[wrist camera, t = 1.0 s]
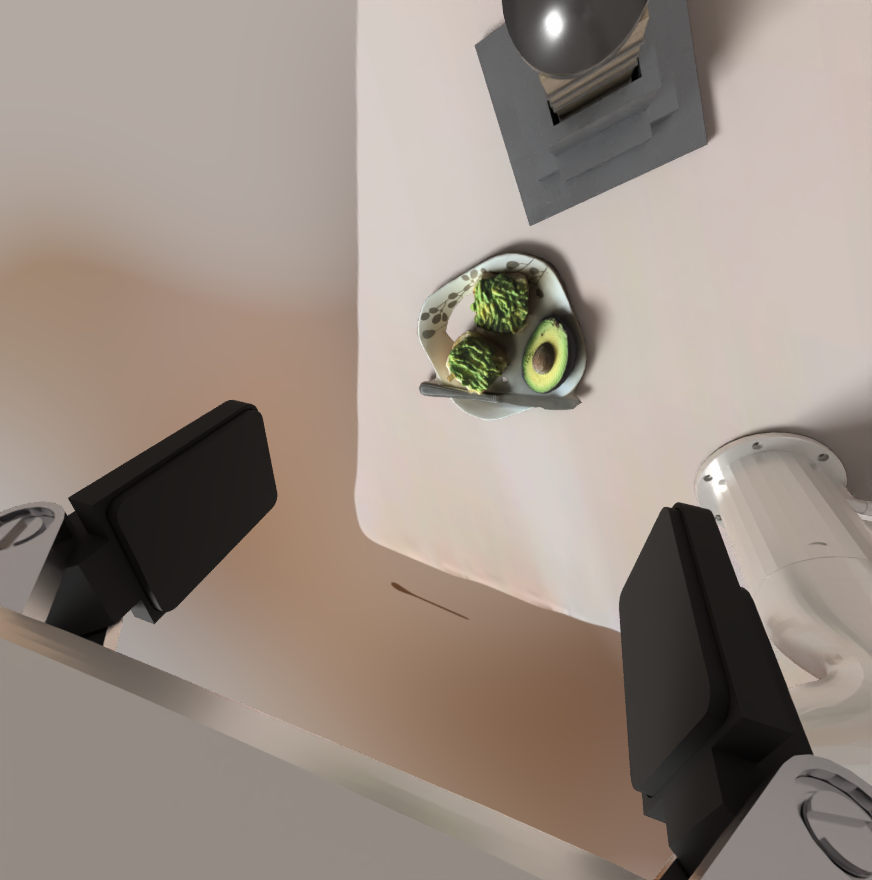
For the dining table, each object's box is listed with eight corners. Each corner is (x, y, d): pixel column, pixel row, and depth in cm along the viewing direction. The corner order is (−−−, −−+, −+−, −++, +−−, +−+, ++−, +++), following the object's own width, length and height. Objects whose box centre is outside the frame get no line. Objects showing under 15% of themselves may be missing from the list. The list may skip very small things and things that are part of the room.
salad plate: (453, 439, 54) (442, 458, 50) (386, 313, 48) (368, 323, 45) (606, 392, 45) (606, 410, 41) (544, 227, 39) (539, 231, 35)
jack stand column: (616, 30, 30) (642, -202, 12) (632, 111, 32) (675, 14, 14) (545, 74, 32) (480, -65, 15) (564, 147, 34) (527, 103, 16)
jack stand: (670, -88, 27) (715, -262, 17) (704, 145, 32) (756, 124, 22) (477, 48, 34) (423, -15, 23) (531, 225, 39) (506, 239, 28)
